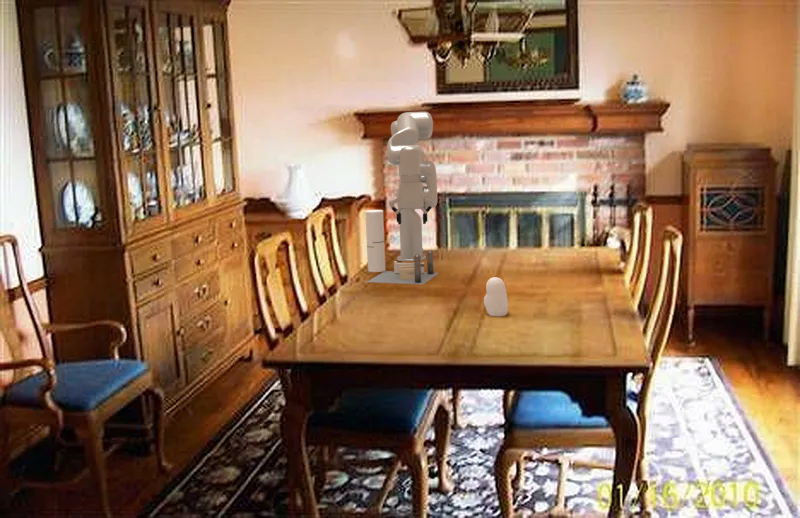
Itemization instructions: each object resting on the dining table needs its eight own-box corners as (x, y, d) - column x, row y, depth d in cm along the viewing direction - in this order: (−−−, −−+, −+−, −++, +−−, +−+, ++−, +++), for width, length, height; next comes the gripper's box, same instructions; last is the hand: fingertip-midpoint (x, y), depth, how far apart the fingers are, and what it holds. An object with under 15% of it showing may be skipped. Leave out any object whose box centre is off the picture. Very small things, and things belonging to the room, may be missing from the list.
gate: (424, 272, 365) (424, 260, 364) (424, 273, 363) (423, 261, 363) (394, 272, 367) (394, 261, 366) (394, 273, 365) (393, 261, 365)
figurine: (501, 309, 305) (500, 274, 302) (512, 314, 298) (511, 278, 295) (482, 312, 302) (481, 276, 300) (492, 317, 295) (491, 281, 293)
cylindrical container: (385, 273, 371) (382, 211, 366) (367, 273, 371) (364, 212, 367) (385, 269, 378) (383, 209, 373) (368, 270, 378) (365, 210, 374)
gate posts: (428, 272, 365) (427, 246, 363) (434, 273, 364) (434, 246, 362) (413, 282, 348) (412, 255, 346) (420, 283, 347) (419, 255, 345)
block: (401, 276, 361) (400, 266, 360) (416, 275, 361) (416, 265, 360) (400, 279, 355) (399, 269, 354) (415, 279, 355) (415, 269, 354)
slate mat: (385, 272, 372) (385, 271, 372) (439, 274, 365) (439, 272, 365) (366, 283, 353) (366, 282, 353) (423, 285, 345) (423, 284, 345)
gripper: (434, 177, 352) (435, 222, 355) (390, 178, 355) (391, 222, 358) (431, 179, 344) (433, 224, 347) (386, 180, 347) (388, 225, 350)
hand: (412, 223), depth 352 cm, fingers open, 9 cm apart
